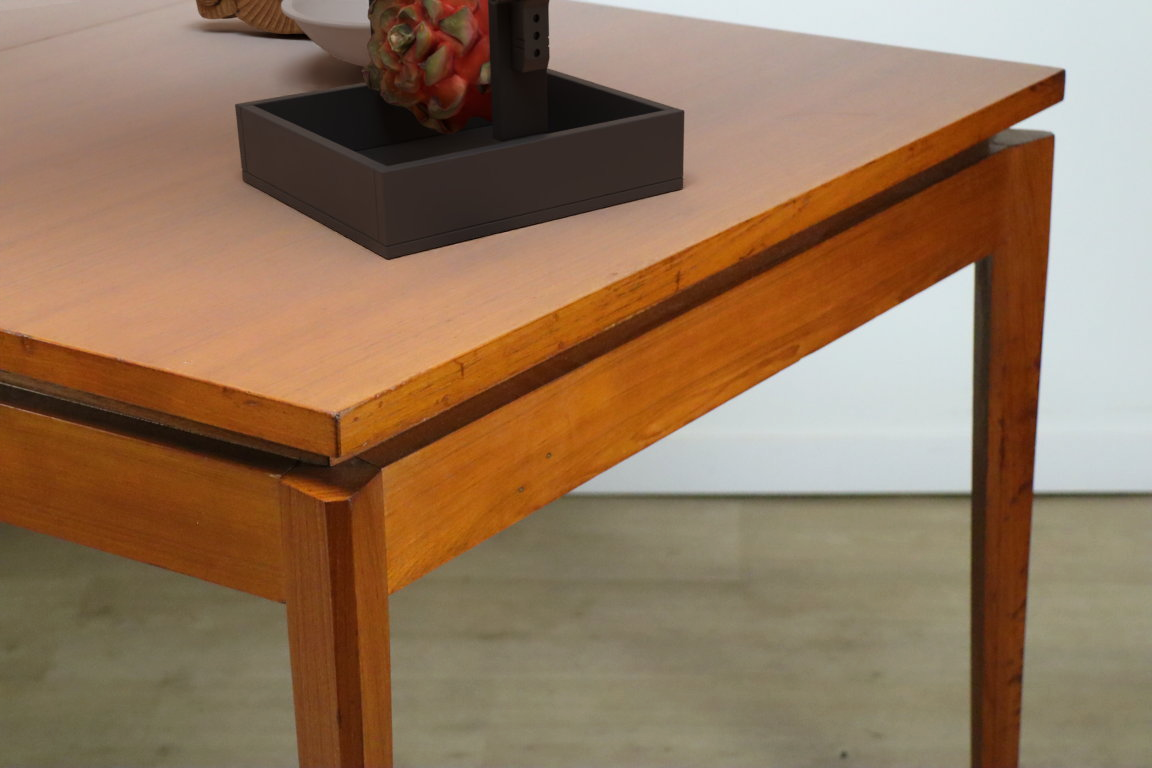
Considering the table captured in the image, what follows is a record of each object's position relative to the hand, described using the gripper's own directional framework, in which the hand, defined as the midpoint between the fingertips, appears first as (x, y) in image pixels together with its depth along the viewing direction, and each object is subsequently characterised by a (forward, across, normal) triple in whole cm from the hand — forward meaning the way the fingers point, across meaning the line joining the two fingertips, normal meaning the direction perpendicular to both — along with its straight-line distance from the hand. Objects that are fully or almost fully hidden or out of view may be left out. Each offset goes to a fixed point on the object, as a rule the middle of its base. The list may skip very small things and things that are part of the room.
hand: (457, 112), depth 77 cm
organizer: (+4, 0, 0) cm, 4 cm away
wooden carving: (+4, +40, -10) cm, 41 cm away
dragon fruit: (+1, 0, 0) cm, 1 cm away
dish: (+4, +24, -10) cm, 26 cm away
